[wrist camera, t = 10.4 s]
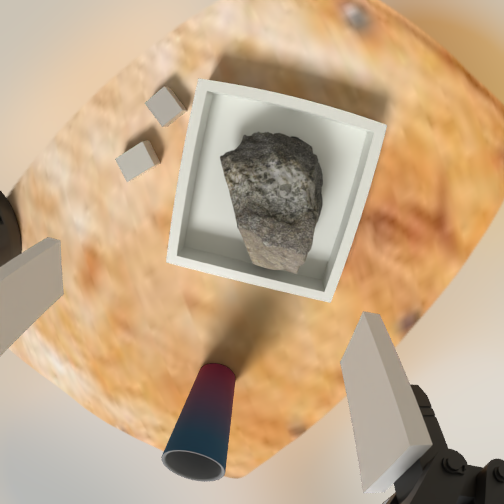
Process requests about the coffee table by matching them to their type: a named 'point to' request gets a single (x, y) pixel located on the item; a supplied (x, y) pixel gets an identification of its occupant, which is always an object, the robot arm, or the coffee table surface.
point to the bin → (218, 197)
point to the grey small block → (137, 160)
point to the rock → (275, 197)
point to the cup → (203, 427)
